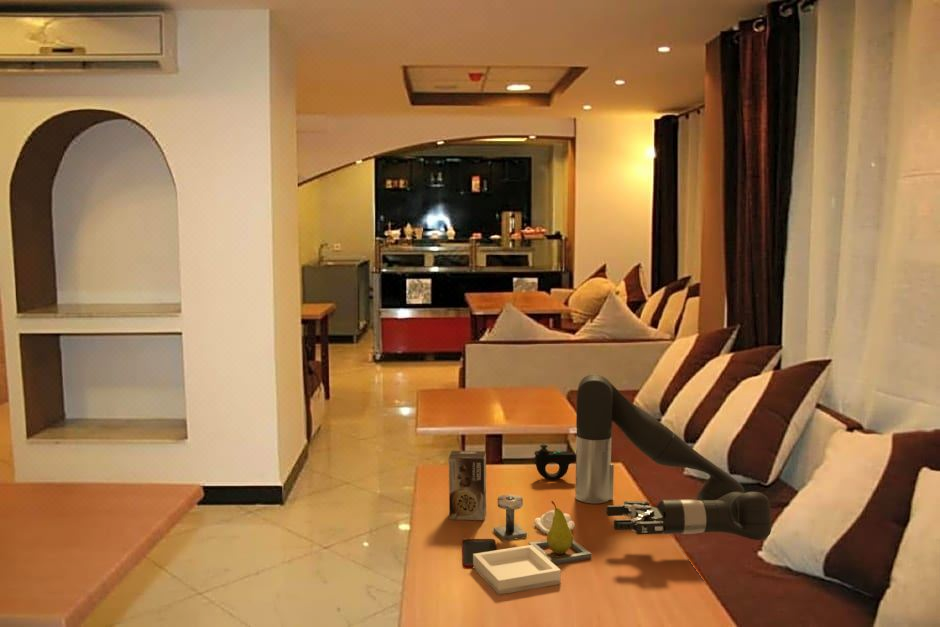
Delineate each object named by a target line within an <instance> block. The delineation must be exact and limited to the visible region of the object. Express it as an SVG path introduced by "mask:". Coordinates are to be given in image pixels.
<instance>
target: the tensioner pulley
mask: <svg viewBox="0 0 940 627" xmlns="http://www.w3.org/2000/svg"><path fill="white" fill-rule="evenodd" d="M523 506H524V498H523V497H522V496H520V495H517V494H502V495H499V496H498V497H497V507H498V508H500V509H503V510H505V525H501V526H494V527H493V533H495V535H496V536H498V537H499V538H500V539H501V540H502V539H503V540H505V541H510V540H509V539H511V540H516V539H515V538H518V539H523V538H522V537H524V538H527V535H528V534H527V532H526V531H525V530H524V529H523V528H521V527H520V526H519V525H518V524H515V510H519V509H521V508H523Z"/></svg>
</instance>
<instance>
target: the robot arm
mask: <svg viewBox="0 0 940 627" xmlns="http://www.w3.org/2000/svg"><path fill="white" fill-rule="evenodd" d="M577 387H578V388H577V392H576V419H575V420H576V421H575V422H576V423H575V426H576V436H575V437H576V439H575V441H576V444H575V445H576V446H575V449H576V450H575V454H576V461H575V488H574V491H575V493H574V497H575V499H576V500H577V501H579V502H582V503H586V504H603V503H607V502H609V501H610V500H614V473H615V472H614V471H615V469H614V468H615V465H614V464H613V463H612V433H613V432H612V430H613V423H614V425H616V426H617V427H618V428H619V429H620V430H621V432H622V433H623V434H624V436H626V437H627V439H628V440H629V441H630V442H631V443H632V444H633V445H634V446H635V447H636V448H637V449H638V450H639V451H640V452H641V453H642V454H643V455H645V456H646V457H648V458H649V459H650V460H652V461H653V462H654V463H655V464H657V465H661V466H664V467H665V466H666V467H673V468H684V469H685V468H686V469H690V470H695V471H699V472H703V473H705V474H707V475H709V478H708V479H707V480H706V481H705V483H704V484H703V485H702V486H701V488H700V489H699V491H698V492H697V495H696V499H690V498H689V499H661V500H660V501H659V502H658V503H657V504H658V505H657V506H651V504H650V501H647V500H646V501H645V500H643V501H641V500H640V501H639V500H636V501H635V500H624V501H623V504H621V505H619V504H618V505H606V508H605V513H606V516H608V517H613V516H614V517H619V516H621V517H622V516H623V517H624V516H625V517H628V518H618V519H617V518H615V519H613V529H614V530H615V531H632V532H635V534H636V535H661V534H663V535H688V534H689V535H691V534H699V533H700V534H701V533H724V534H732V535H736V536H740V537H743V538H747V539H749V540H755V541H761V540H765V539H766V538H768V537H769V536H770V535H771V532H772V523H771V521H772V519H771V518H772V517H771V502H770V499H769V498H768V496H767V495H765V493H762V492H758V491H747V492H745V488H744V487H743V485H742V483H740V482H739V481H738V480H737V479H736V478H734V477H733V476H732V475H730V474H728V473H727V472H726V471H725V470H723V469H722V468H720V467H719V466H717V465H716V464H714V463H713V462H711V461H710V460H709V459H707V458H706V457H704V456H703V455H702V454H700V453H699V452H698V451H697V450H695V449H694V447H691V446H690V445H689V444H688V443H687V442H685V441H684V440H683V439H682V438H681V437H680V436H678V435H677V434H676V433H675V432H673V431H672V430H671V429H669V428H668V427H667V426H666V425H665V424H663V423H662V422H660V421H659V420H658V419H656V418H655V417H654V416H652V415H651V414H649V413H648V412H646V411H645V410H643V409H642V408H640V407H639V406H637V405H636V404H634V403H633V402H631V401H630V400H629V398H627V397H626V396H625V395H624V394H623V393H622V392H620V391H619V389H617V387H615V386H614V385H613V384H612V383H611V382H610V381H609V379H607V378H606V377H604V376H603V375H601V374H596V373H595V374H588V375H586V376H584V377H583V378H582V379H581V380H580V382H579V383H578V386H577Z"/></svg>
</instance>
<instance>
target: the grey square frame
mask: <svg viewBox="0 0 940 627" xmlns="http://www.w3.org/2000/svg"><path fill="white" fill-rule="evenodd" d="M528 545H533V546H534V547H535V548H536V549H537V550H538V551H539V552H541V553H542V554H543V555H544V556H545V557H546V558H548V559H549V560H550V561H551V562H552V563H553V564H555V565H556V566H557V565H560V564H567V563H568V564H569V563H573V562H574V563H575V562H579V560H580V561H584V560H583V559H586V560H590V559H589V558H591V559H592V552H590V551H589V550H588V549H586V548H585V547H583V545H581V544H580V543H579V542H577V541H576V540H574V539H573V542H572V545H571V547H572V548H571V547H570V548H571V549H572V550H574V551H575V552H576V551H577V552H576V553H572V554H564V555H559V556H551V554H548V553H547V552H546V551H545V550H544V549H543V548H542V547H545V548H549V546H548V543H547V539H544V540H537V541H531V542H528Z"/></svg>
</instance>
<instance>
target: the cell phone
mask: <svg viewBox="0 0 940 627" xmlns="http://www.w3.org/2000/svg"><path fill="white" fill-rule="evenodd" d="M461 544H462V547H461V548H462V566H463V568H464V567H465V569H474V568H473V567H474V565H473V554H476V553H482V552H489V551H495V550H498V548H497V544H496V539H494V538H465V539H464V538H463V539H462V542H461Z"/></svg>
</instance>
